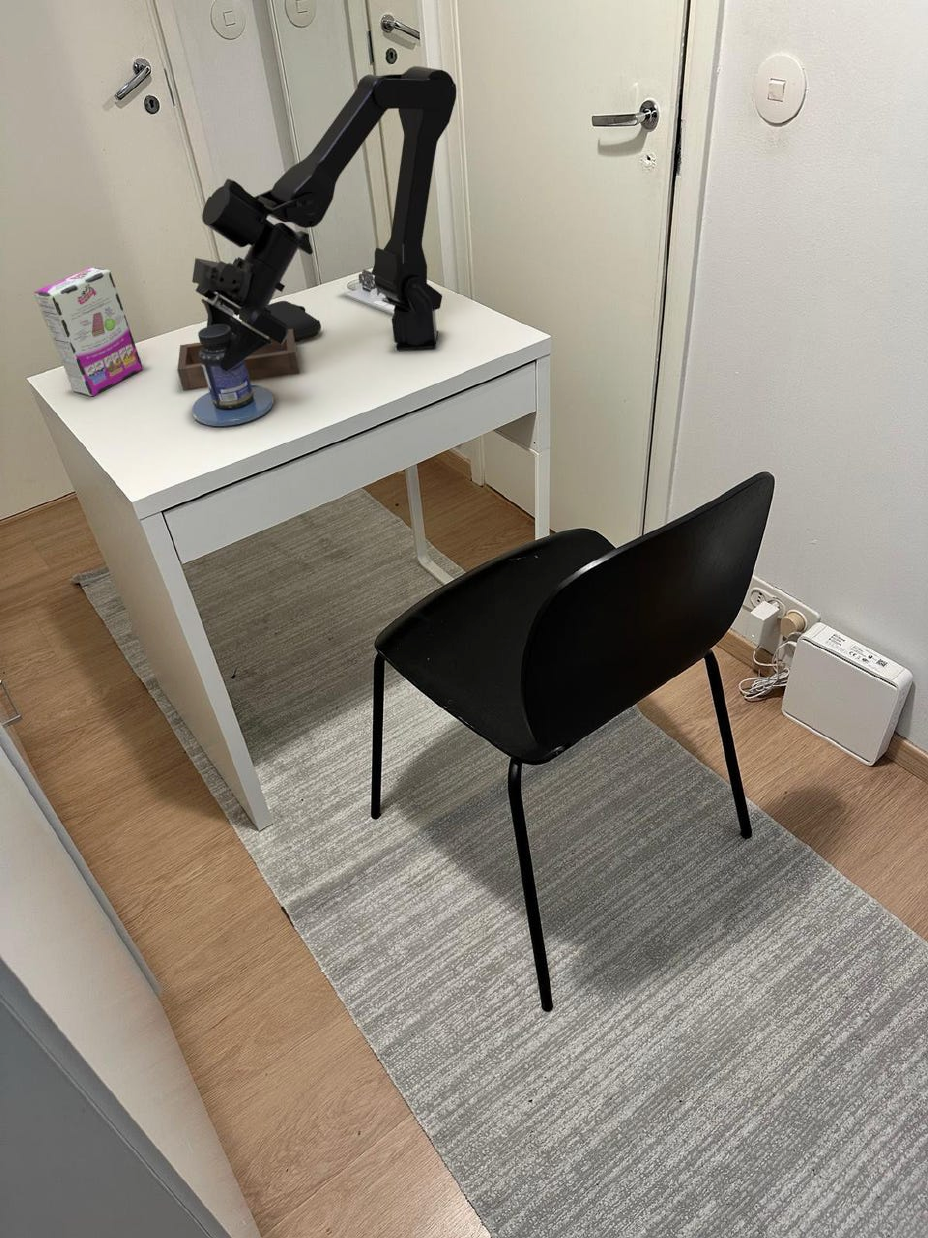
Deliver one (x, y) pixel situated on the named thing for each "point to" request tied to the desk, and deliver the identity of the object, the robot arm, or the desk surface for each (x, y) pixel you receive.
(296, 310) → the carrying case
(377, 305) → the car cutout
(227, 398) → the pill bottle
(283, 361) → the rack
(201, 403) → the plate
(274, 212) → the robot arm
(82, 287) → the candy bar box
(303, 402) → the desk surface
